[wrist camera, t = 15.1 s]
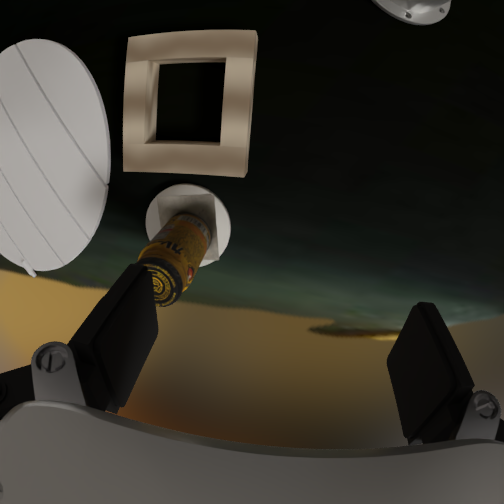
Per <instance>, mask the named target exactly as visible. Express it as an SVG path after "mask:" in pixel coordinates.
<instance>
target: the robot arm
mask: <svg viewBox="0 0 504 504" xmlns="http://www.w3.org/2000/svg"><path fill="white" fill-rule="evenodd" d="M372 2H373V3H374V4H376V5H377V6H378V7H379V8H380V9H381V10H383V11H384V12H386V13H387V14H389V15H390V16H392V17H394V18H396V19H398V20H401V21H403V22H406V23H410V24H414V25H429V24H433V23H435V22H438V21H440V20H441V19H443V18H444V17H445V16H446V15H447V13H448V11H449V9H450V3H451V0H372ZM406 16H407V17H406ZM157 335H158V321H157V314H156V305H155V296H154V286H153V276H152V272H151V271H148V268H147V266H143V265H137V264H130V265H129V266H128V267H127V269H126V270H125V271H124V272H123V273H122V275H121V276H120V277H119V278H118V280H117V281H116V282H115V283H114V285H113V286H112V287H111V288H110V290H109V291H108V292H107V294H106V295H105V296H104V297H103V298H102V299H101V300H100V301H99V302H98V303H97V305H96V306H95V307H94V309H93V310H92V312H91V313H90V314H89V315H88V317H87V318H86V319H85V321H84V322H83V323H82V325H81V326H80V328H79V329H78V330H77V332H76V333H75V334H74V336H73V337H72V338H71V340H70V341H69V343H68V344H67V345H66V344H64V343H62V342H49V343H46V344H43V345H42V346H41V347H39V348H38V349H37V350H36V351H35V352H34V354H33V357H32V360H31V364H30V365H27V366H24V367H21V368H17V369H14V370H11V371H7V372H4V373H1V374H0V504H504V421H503V420H502V419H501V418H500V416H501V407H500V404H499V402H498V400H497V399H496V397H495V396H494V395H492V394H491V393H490V392H487V391H485V390H479V391H476V392H474V393H473V391H472V388H473V387H474V386H475V385H474V382H473V380H472V378H471V376H470V373H469V371H468V369H467V367H466V365H465V362H464V360H463V358H462V356H461V354H460V352H459V350H458V348H457V346H456V344H455V342H454V340H453V338H452V336H451V334H450V332H449V330H448V328H447V326H446V324H445V323H444V321H443V319H442V317H441V315H440V313H439V311H438V310H437V308H436V306H435V305H434V303H428V302H419V303H417V305H415V306H413V307H412V309H411V311H410V314H409V316H408V318H407V320H406V322H405V324H404V326H403V328H402V330H401V332H400V334H399V336H398V338H397V340H396V342H395V344H394V346H393V348H392V350H391V352H390V354H389V355H388V358H387V367H388V371H389V375H390V379H391V383H392V386H393V391H394V394H395V399H396V403H397V407H398V411H399V416H400V420H401V425H402V430H403V435H404V437H405V438H407V439H408V445H411V446H402V447H390V448H375V449H343V450H342V449H341V450H340V449H337V450H336V449H333V450H332V449H329V450H328V449H301V448H284V447H273V446H262V445H254V444H246V443H238V442H232V441H225V440H218V439H213V438H207V437H202V436H197V435H192V434H187V433H183V432H178V431H174V430H170V429H166V428H162V427H158V426H154V425H150V424H146V423H142V422H138V421H135V420H131V419H128V418H124V417H121V416H118V415H114V414H111V413H108V412H105V411H106V410H107V411H109V412H112V413H115V414H117V412H118V410H119V407H124V406H125V404H126V402H127V400H128V398H129V396H130V393H131V391H132V389H133V387H134V385H135V382H136V380H137V378H138V376H139V374H140V372H141V369H142V367H143V365H144V363H145V361H146V358H147V356H148V355H149V352H150V350H151V348H152V346H153V344H154V342H155V340H156V338H157ZM421 443H423V444H421ZM417 444H421V445H417Z"/></svg>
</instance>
